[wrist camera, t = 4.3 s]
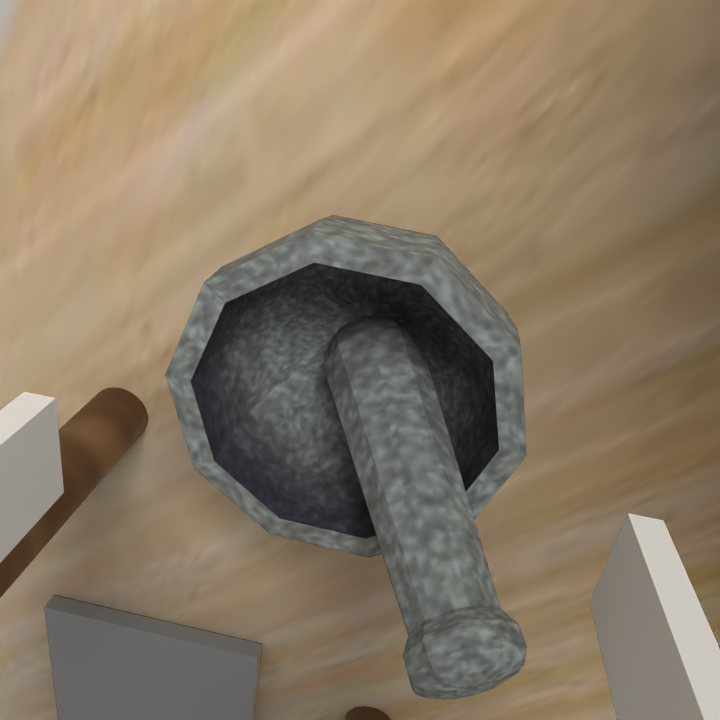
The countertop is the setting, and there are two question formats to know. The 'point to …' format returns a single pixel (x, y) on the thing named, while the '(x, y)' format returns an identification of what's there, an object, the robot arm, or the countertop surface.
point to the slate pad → (146, 667)
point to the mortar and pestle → (367, 422)
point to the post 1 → (81, 467)
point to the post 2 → (366, 714)
